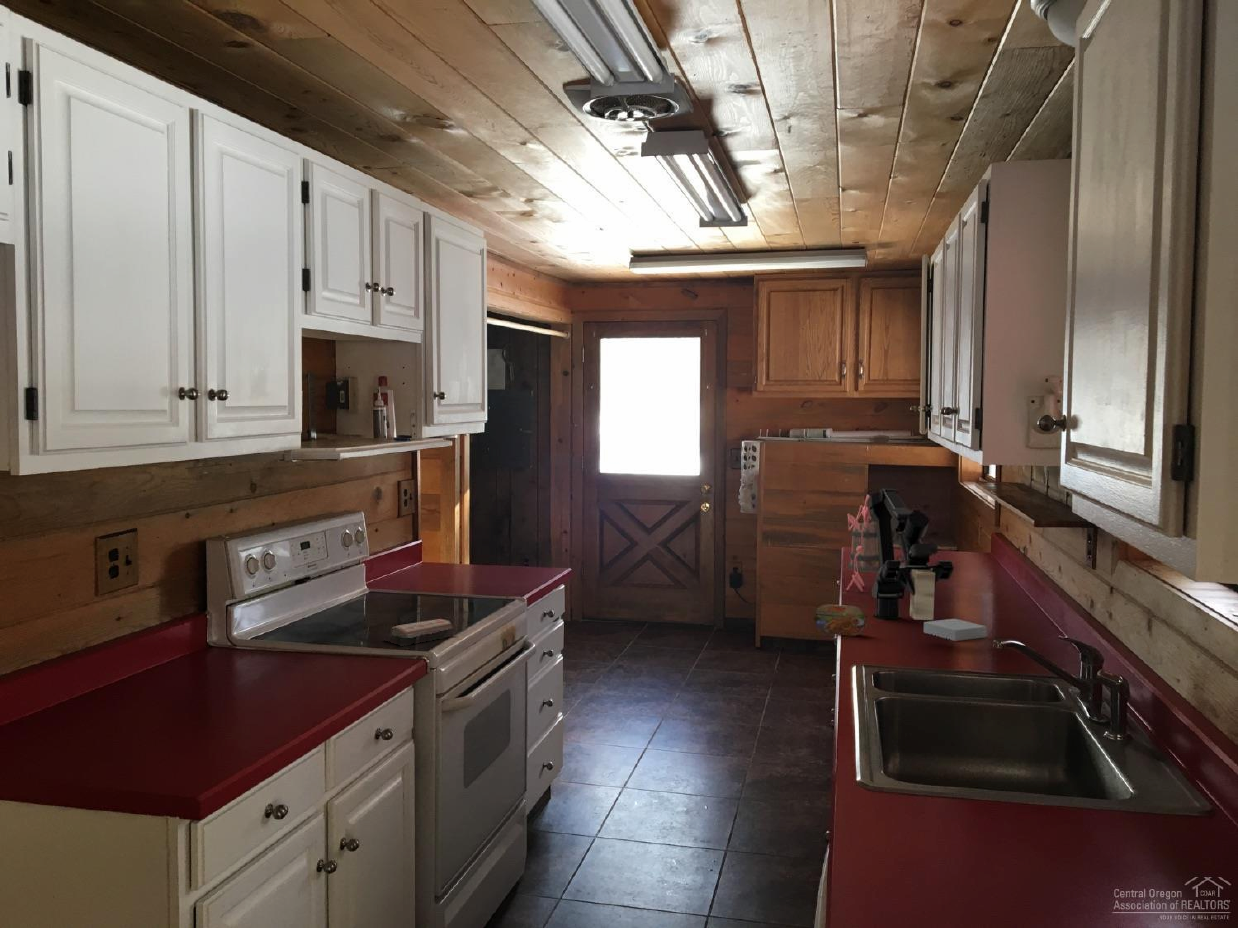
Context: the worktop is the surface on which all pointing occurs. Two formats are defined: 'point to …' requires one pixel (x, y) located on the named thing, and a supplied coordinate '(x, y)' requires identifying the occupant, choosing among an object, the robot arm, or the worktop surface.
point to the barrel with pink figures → (860, 549)
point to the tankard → (866, 548)
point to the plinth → (955, 629)
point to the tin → (840, 620)
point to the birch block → (922, 595)
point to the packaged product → (421, 628)
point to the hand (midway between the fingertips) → (923, 594)
